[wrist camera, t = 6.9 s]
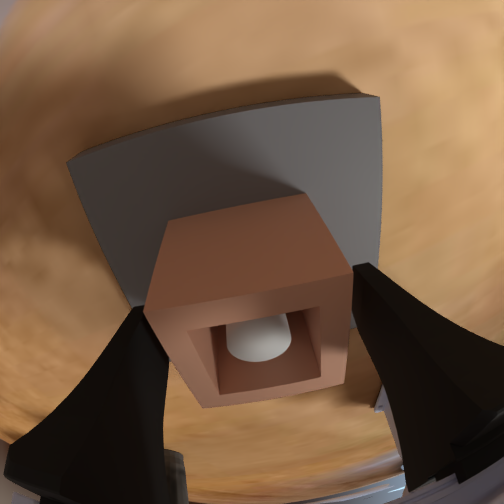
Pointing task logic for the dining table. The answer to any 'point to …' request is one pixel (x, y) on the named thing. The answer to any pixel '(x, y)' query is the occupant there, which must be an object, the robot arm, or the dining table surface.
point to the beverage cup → (176, 477)
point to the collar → (252, 299)
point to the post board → (237, 186)
